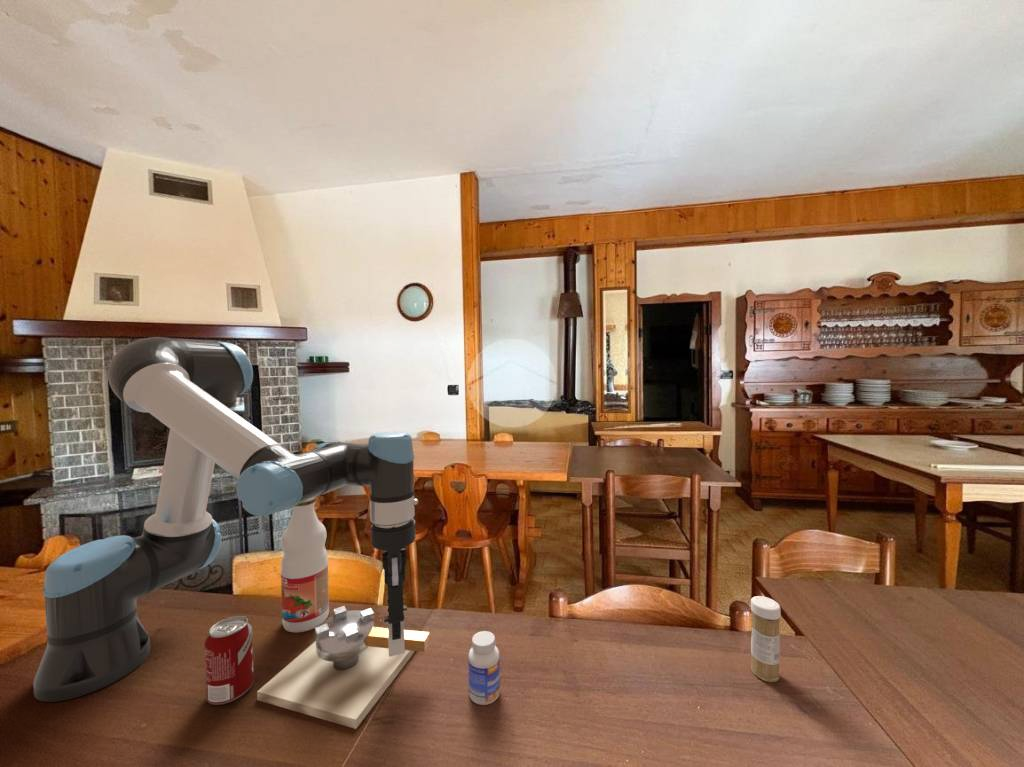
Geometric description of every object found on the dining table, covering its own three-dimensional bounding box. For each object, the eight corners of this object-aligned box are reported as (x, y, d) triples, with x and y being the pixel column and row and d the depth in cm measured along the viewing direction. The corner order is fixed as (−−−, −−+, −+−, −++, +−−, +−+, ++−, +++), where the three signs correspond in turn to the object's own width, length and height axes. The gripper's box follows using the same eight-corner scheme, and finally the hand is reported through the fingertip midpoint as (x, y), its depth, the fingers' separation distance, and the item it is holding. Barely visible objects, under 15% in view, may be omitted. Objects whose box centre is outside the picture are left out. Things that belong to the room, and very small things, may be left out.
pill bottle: (492, 710, 65) (491, 652, 65) (463, 701, 67) (462, 645, 66) (504, 685, 70) (504, 632, 70) (477, 677, 72) (476, 625, 72)
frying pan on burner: (303, 658, 70) (303, 635, 70) (336, 622, 80) (336, 602, 80) (416, 670, 67) (415, 646, 67) (436, 632, 77) (436, 610, 76)
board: (257, 700, 67) (256, 671, 67) (339, 627, 87) (338, 604, 86) (356, 729, 62) (355, 697, 62) (420, 644, 81) (420, 620, 81)
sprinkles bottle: (762, 662, 75) (762, 592, 75) (786, 679, 71) (786, 606, 70) (744, 668, 73) (745, 597, 73) (767, 687, 69) (768, 611, 69)
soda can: (229, 711, 65) (227, 640, 65) (196, 705, 66) (193, 635, 66) (263, 680, 72) (261, 615, 71) (232, 675, 73) (230, 611, 73)
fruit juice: (336, 617, 90) (334, 496, 89) (293, 640, 82) (289, 508, 82) (317, 603, 96) (314, 489, 95) (275, 622, 88) (271, 499, 88)
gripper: (417, 530, 65) (421, 672, 65) (412, 506, 77) (415, 626, 77) (369, 537, 62) (373, 684, 63) (372, 511, 75) (375, 635, 75)
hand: (396, 652), depth 70 cm, fingers closed
